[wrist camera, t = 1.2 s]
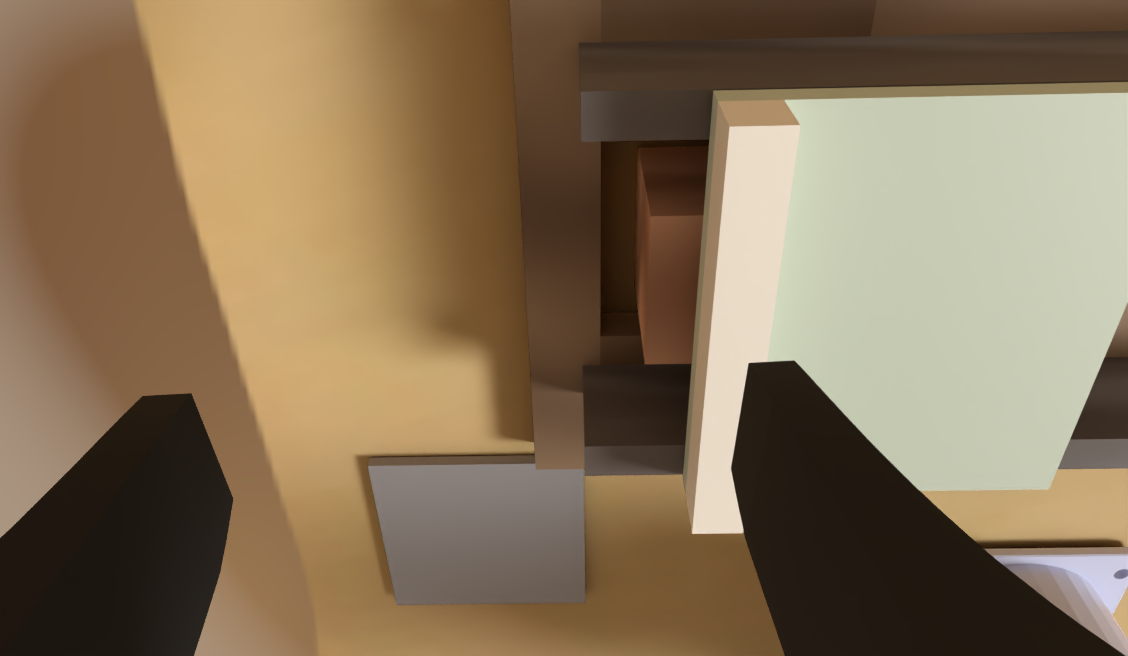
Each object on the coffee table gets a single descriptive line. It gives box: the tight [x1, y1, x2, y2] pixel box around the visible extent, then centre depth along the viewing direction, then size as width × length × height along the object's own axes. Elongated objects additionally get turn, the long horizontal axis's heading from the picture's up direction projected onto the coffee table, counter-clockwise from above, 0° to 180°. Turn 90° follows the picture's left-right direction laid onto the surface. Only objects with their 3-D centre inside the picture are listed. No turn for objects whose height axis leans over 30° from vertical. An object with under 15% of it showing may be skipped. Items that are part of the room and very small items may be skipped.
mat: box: [368, 455, 585, 605], centre depth 29 cm, size 7×7×1 cm
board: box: [509, 0, 1128, 476], centre depth 20 cm, size 16×22×5 cm
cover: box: [683, 82, 1128, 534], centre depth 18 cm, size 10×9×2 cm
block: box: [634, 146, 709, 364], centre depth 21 cm, size 4×4×4 cm
